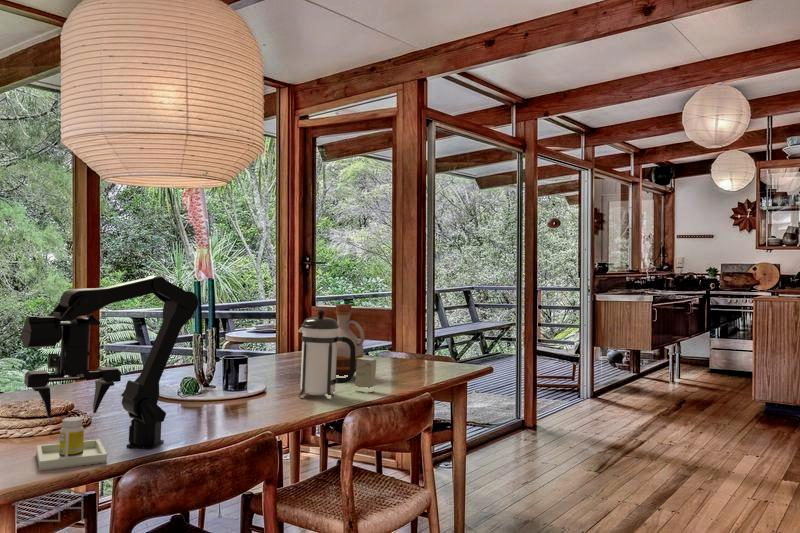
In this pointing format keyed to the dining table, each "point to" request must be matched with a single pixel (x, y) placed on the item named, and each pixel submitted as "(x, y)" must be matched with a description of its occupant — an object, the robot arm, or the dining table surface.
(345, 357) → the jug
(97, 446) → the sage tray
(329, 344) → the coffee press
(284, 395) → the dining table surface
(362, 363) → the skincare box
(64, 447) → the supplement bottle
